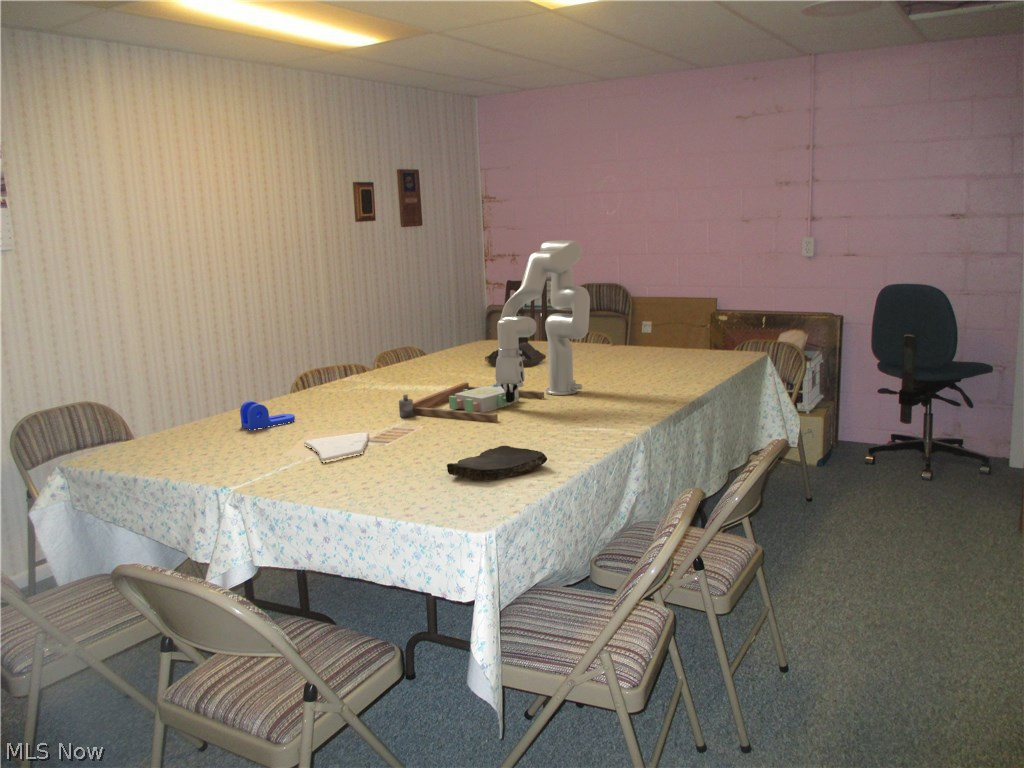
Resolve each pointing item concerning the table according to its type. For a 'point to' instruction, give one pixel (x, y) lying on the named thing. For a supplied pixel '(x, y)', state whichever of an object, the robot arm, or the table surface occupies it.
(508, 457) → the stone slab
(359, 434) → the flat white fragment
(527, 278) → the robot arm
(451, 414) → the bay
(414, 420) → the table surface
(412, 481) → the table surface
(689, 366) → the table surface
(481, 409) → the decorative block
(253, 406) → the bracket
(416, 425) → the table surface
